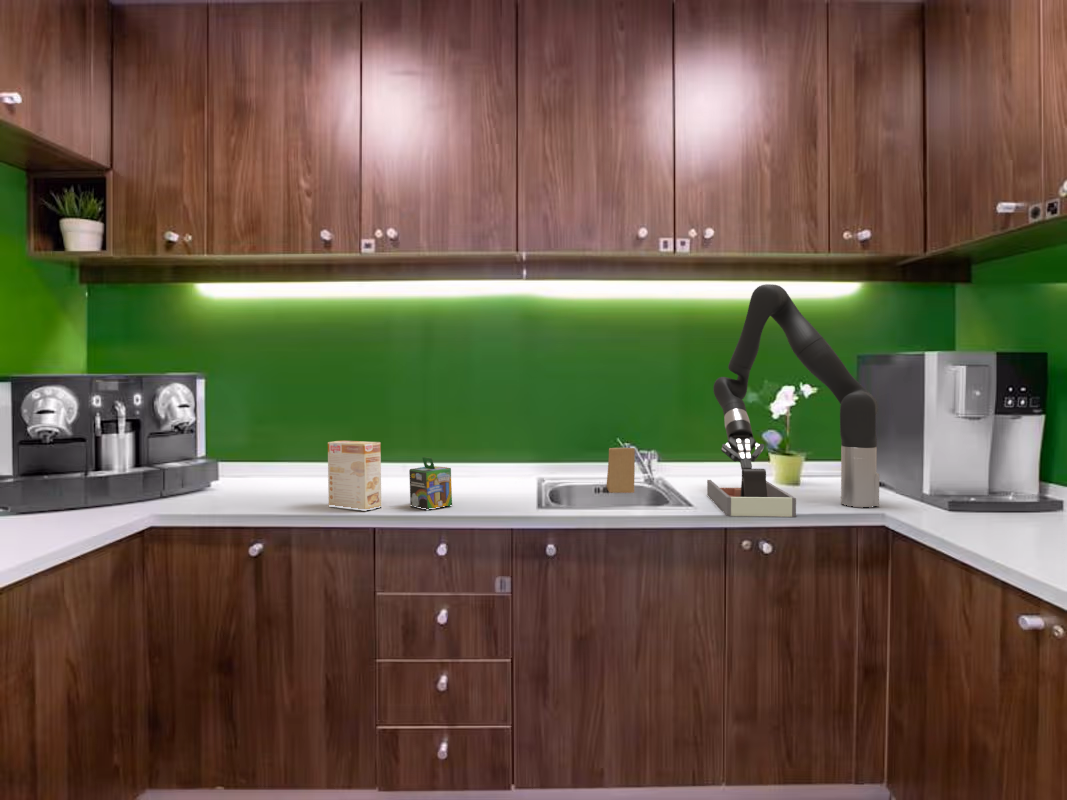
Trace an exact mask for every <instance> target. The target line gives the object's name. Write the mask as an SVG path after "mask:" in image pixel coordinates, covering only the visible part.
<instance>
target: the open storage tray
mask: <svg viewBox="0 0 1067 800" xmlns="http://www.w3.org/2000/svg"><path fill="white" fill-rule="evenodd" d="M706 482H707V485H706V488H707V489H706V491H707V494H706V496H707V495H708V496H709V497H710V498H709V499H710V500H711V499H712V500H711V501H712V502H713V501H714V502H713V503H714V504H715V505H716V506H717V507H718V508H719V509H720V510H721V511H722V510H723V511H724V512H723V511H722V512H723V513H724V515H726V516H728V517H782V518H785V517H788V518H789V517H790V518H791V517H792V518H796V517H797V498H796V497H795V496H793V495H792V494H789V493H788V492H786V491H784V490H782V488H779V487H778V486H777V485H774V484H772V483H770V482H769V481H767V480H766V486H767V497H740V494H741V487H720V486H718V485H717V484H716V483H715V482H714V481H712V480H711V479H707V481H706ZM708 496H707V497H708Z"/></svg>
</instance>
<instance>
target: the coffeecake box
mask: <svg viewBox="0 0 1067 800" xmlns="http://www.w3.org/2000/svg"><path fill="white" fill-rule="evenodd" d="M381 444H382V443H381V442H380V441H360V440H335V441H328V442H327V474H328V475H327V478H328V479H327V480H328V488H327V489H328V506H329V505H335V506H343V507H351V508H358V509H370V508H374V507H379V506H381V507H382V466H381V465H382V463H381V462H382V459H381V458H382V456H381V453H382V452H381Z"/></svg>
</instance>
